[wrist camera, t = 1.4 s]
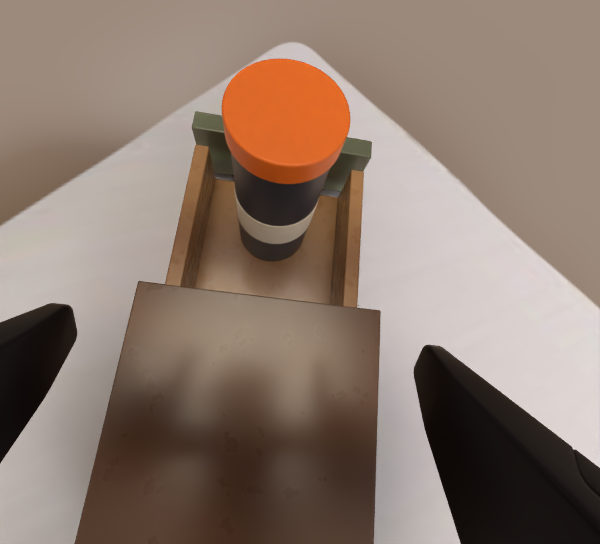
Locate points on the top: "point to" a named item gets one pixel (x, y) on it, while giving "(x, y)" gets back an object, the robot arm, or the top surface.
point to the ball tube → (281, 149)
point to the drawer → (227, 241)
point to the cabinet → (238, 423)
